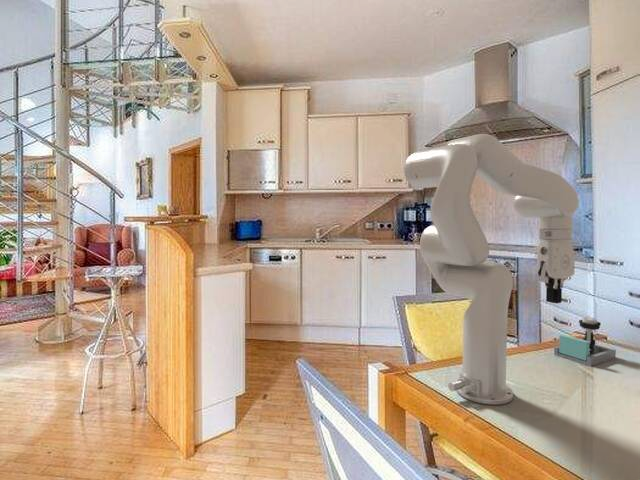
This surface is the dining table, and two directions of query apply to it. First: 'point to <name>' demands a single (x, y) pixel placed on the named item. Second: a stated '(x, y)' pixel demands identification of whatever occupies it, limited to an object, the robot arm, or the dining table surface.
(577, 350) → the clamp jaw
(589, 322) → the push button
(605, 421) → the dining table surface
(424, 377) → the dining table surface
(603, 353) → the tray
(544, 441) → the dining table surface
